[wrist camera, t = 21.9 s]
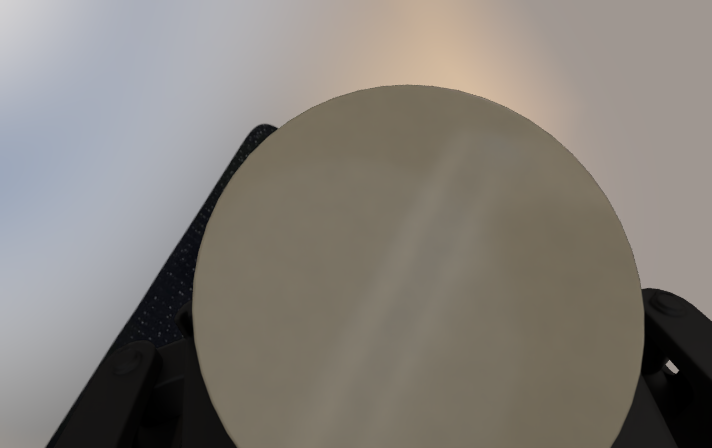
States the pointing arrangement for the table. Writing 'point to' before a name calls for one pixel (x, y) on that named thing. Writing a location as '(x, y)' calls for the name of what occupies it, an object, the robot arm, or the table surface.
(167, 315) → the table surface
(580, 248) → the beige cylinder
